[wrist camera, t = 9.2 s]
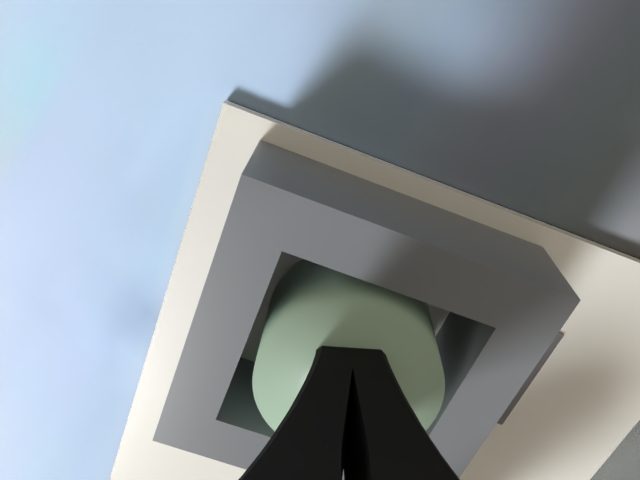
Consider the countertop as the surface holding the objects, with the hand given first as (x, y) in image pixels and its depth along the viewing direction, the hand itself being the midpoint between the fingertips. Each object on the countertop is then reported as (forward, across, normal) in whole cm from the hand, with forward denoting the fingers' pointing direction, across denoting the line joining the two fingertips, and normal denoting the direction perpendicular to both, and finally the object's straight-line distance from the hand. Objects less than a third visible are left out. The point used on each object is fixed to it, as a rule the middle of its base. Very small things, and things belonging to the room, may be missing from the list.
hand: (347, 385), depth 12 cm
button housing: (+3, 0, 0) cm, 3 cm away
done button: (+3, 0, 0) cm, 3 cm away
